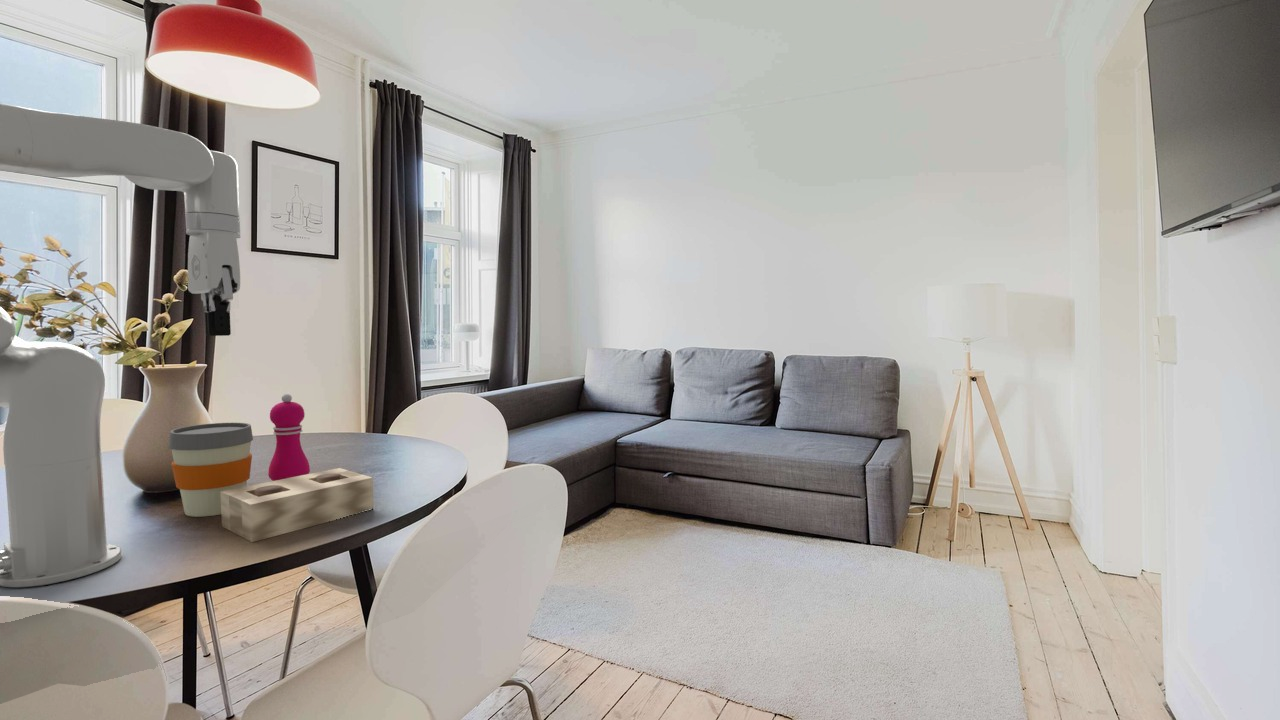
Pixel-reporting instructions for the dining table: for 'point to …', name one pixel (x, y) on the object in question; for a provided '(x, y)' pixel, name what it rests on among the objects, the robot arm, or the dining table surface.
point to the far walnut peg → (328, 477)
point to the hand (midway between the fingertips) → (218, 335)
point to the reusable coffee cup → (210, 463)
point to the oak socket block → (295, 504)
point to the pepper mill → (287, 441)
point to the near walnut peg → (268, 490)
